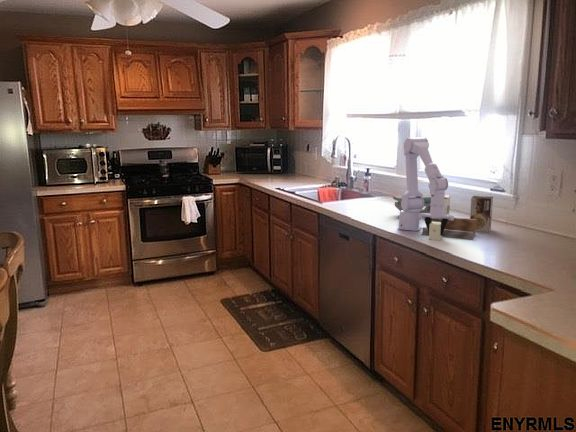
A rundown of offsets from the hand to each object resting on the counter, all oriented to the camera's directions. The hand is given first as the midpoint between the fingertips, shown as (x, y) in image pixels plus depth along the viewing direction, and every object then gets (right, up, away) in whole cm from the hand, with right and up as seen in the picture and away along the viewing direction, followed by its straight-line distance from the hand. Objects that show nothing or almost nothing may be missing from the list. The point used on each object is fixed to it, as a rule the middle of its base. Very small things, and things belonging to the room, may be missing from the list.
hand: (435, 234), depth 211 cm
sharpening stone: (+5, +8, +50) cm, 51 cm away
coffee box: (+26, +1, +16) cm, 31 cm away
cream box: (0, -2, 0) cm, 2 cm away
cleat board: (+8, 0, +7) cm, 11 cm away
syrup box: (+13, +4, +30) cm, 33 cm away
